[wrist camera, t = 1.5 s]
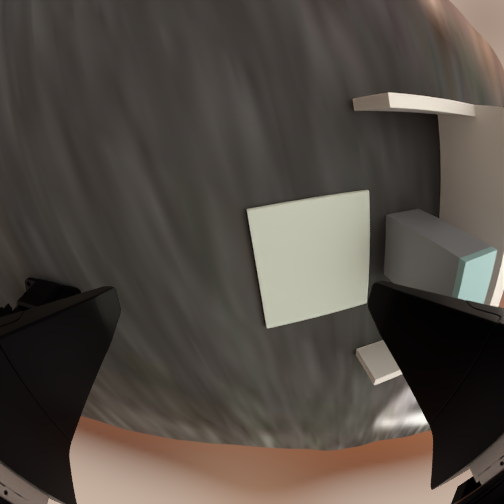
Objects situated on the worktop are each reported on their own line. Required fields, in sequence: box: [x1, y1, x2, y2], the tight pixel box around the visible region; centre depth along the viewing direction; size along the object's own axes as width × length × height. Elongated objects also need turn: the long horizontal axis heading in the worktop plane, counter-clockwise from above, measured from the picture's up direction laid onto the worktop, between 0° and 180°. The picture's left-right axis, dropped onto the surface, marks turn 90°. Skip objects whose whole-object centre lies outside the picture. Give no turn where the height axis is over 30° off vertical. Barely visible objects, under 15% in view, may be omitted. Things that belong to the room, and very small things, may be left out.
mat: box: [246, 190, 370, 328], centre depth 23 cm, size 10×11×1 cm
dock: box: [352, 92, 504, 385], centre depth 20 cm, size 12×26×9 cm, turn 9°
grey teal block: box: [384, 209, 497, 304], centre depth 19 cm, size 4×6×10 cm, turn 9°
